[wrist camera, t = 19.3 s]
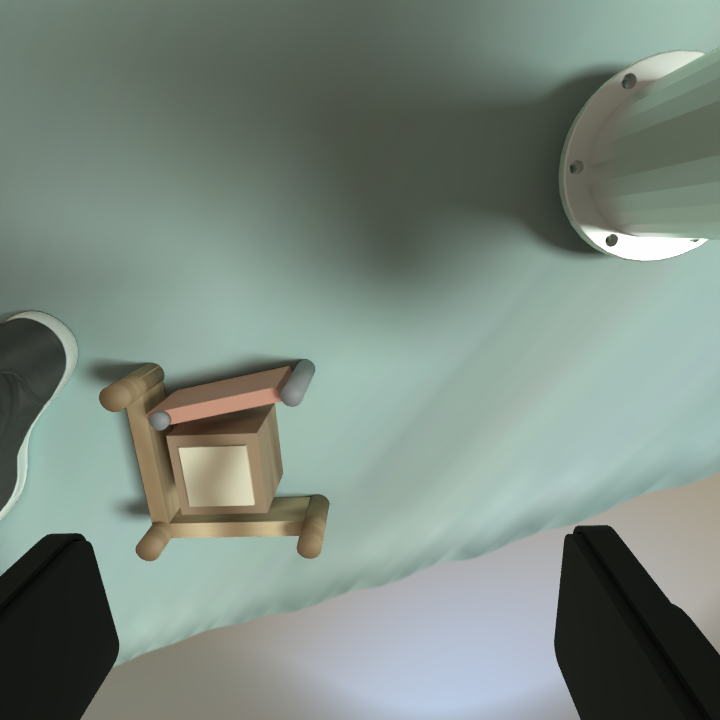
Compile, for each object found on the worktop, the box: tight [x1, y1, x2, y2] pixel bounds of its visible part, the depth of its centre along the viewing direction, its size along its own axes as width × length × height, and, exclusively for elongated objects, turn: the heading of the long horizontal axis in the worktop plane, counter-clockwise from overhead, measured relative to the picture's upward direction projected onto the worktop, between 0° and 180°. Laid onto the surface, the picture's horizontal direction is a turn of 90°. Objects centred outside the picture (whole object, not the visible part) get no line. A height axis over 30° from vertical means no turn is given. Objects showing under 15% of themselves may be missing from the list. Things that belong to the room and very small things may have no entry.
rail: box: [146, 360, 315, 431], centre depth 34 cm, size 12×2×6 cm, turn 103°
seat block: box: [166, 403, 283, 515], centre depth 36 cm, size 7×7×6 cm
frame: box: [99, 363, 329, 561], centre depth 36 cm, size 16×16×6 cm
